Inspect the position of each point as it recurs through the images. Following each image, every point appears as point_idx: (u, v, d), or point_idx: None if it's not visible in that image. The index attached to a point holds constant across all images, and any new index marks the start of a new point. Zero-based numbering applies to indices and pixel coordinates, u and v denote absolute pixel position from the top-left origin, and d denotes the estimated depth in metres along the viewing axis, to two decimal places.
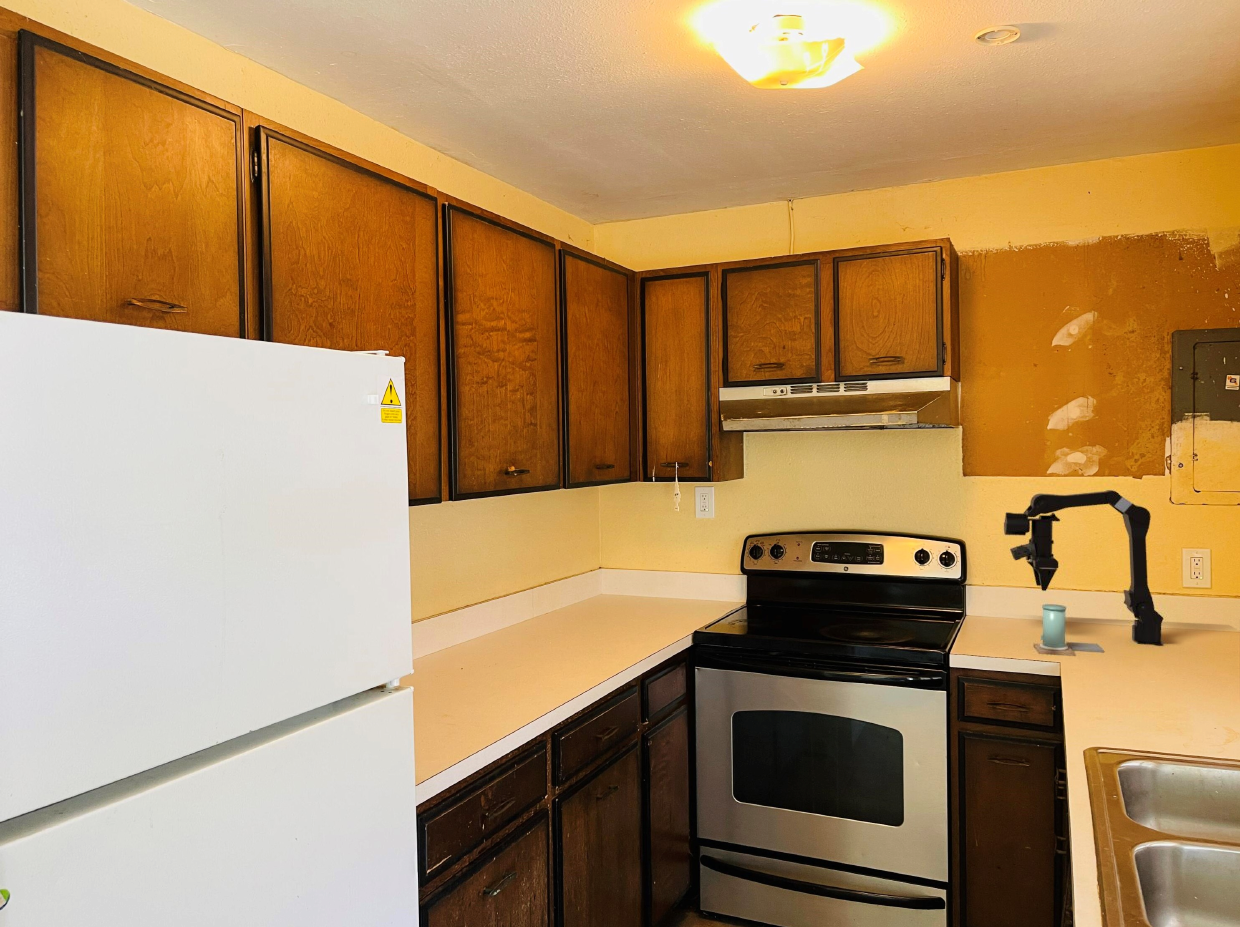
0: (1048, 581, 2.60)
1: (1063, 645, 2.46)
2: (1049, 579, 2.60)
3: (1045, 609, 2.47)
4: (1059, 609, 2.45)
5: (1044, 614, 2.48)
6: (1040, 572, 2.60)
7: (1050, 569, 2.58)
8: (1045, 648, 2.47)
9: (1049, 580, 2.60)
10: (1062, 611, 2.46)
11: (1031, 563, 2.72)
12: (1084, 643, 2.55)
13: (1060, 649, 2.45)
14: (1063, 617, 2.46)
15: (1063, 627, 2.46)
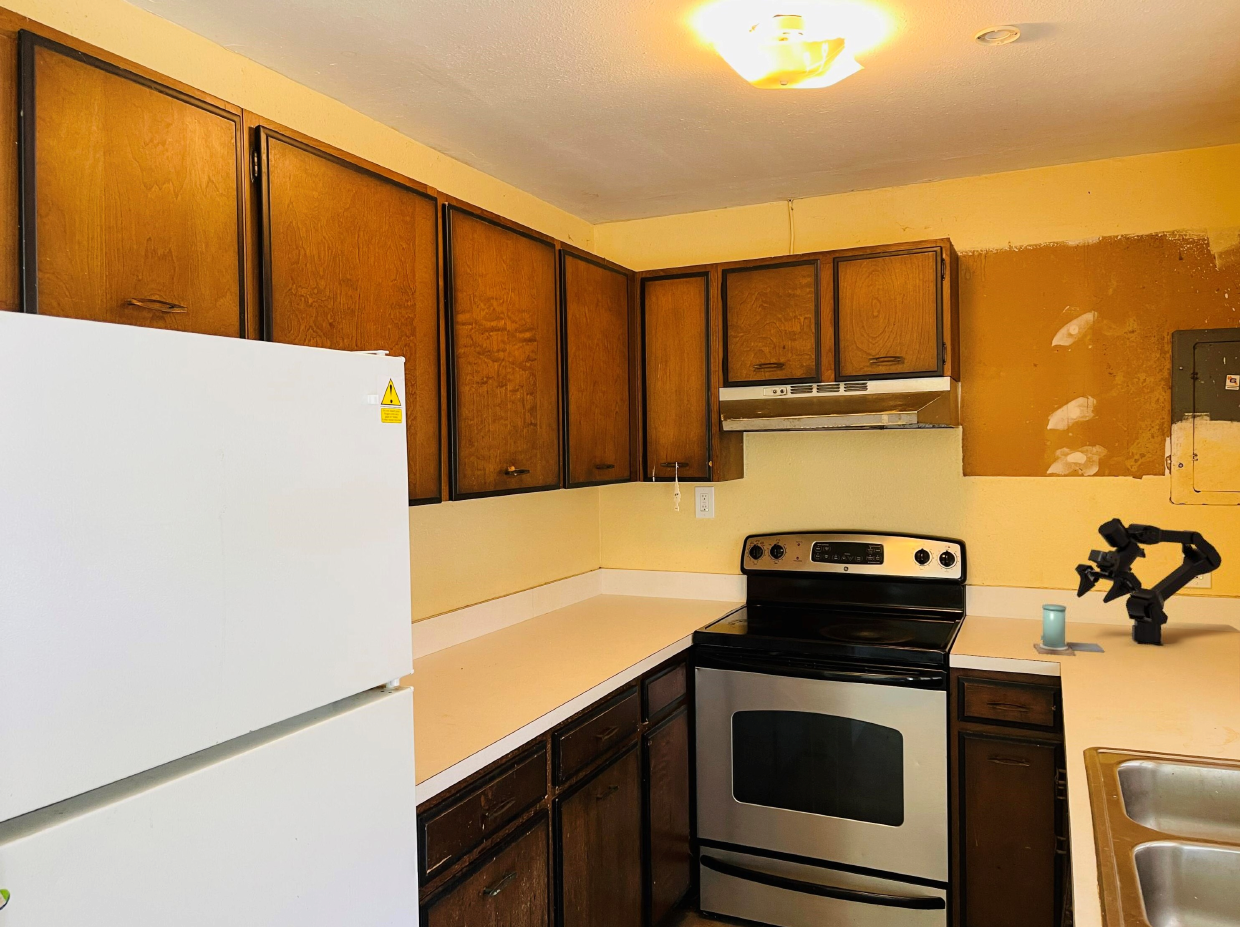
0: (1115, 597, 2.48)
1: (1063, 645, 2.46)
2: (1117, 596, 2.48)
3: (1045, 609, 2.47)
4: (1059, 609, 2.45)
5: (1044, 614, 2.48)
6: (1118, 585, 2.47)
7: (1130, 588, 2.46)
8: (1045, 648, 2.47)
9: (1116, 597, 2.48)
10: (1062, 611, 2.46)
11: (1085, 574, 2.58)
12: (1084, 643, 2.55)
13: (1060, 649, 2.45)
14: (1063, 617, 2.46)
15: (1063, 627, 2.46)
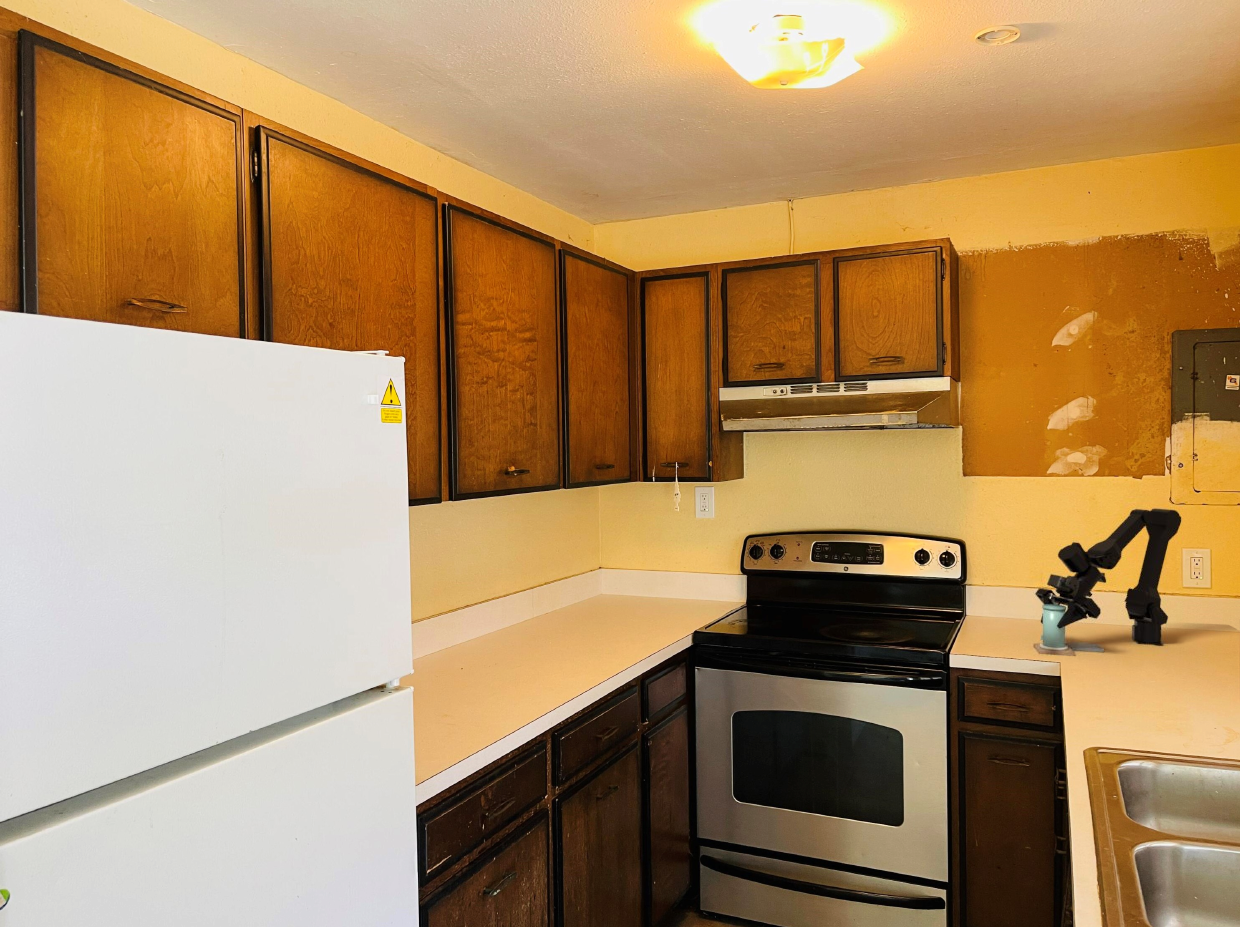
0: (1069, 622, 2.45)
1: (1063, 645, 2.46)
2: (1071, 621, 2.45)
3: (1045, 609, 2.47)
4: (1059, 609, 2.45)
5: (1044, 614, 2.48)
6: (1072, 610, 2.44)
7: (1084, 613, 2.43)
8: (1045, 648, 2.47)
9: (1070, 622, 2.45)
10: (1062, 611, 2.46)
11: (1050, 600, 2.52)
12: (1084, 643, 2.55)
13: (1060, 649, 2.45)
14: None
15: (1063, 627, 2.46)
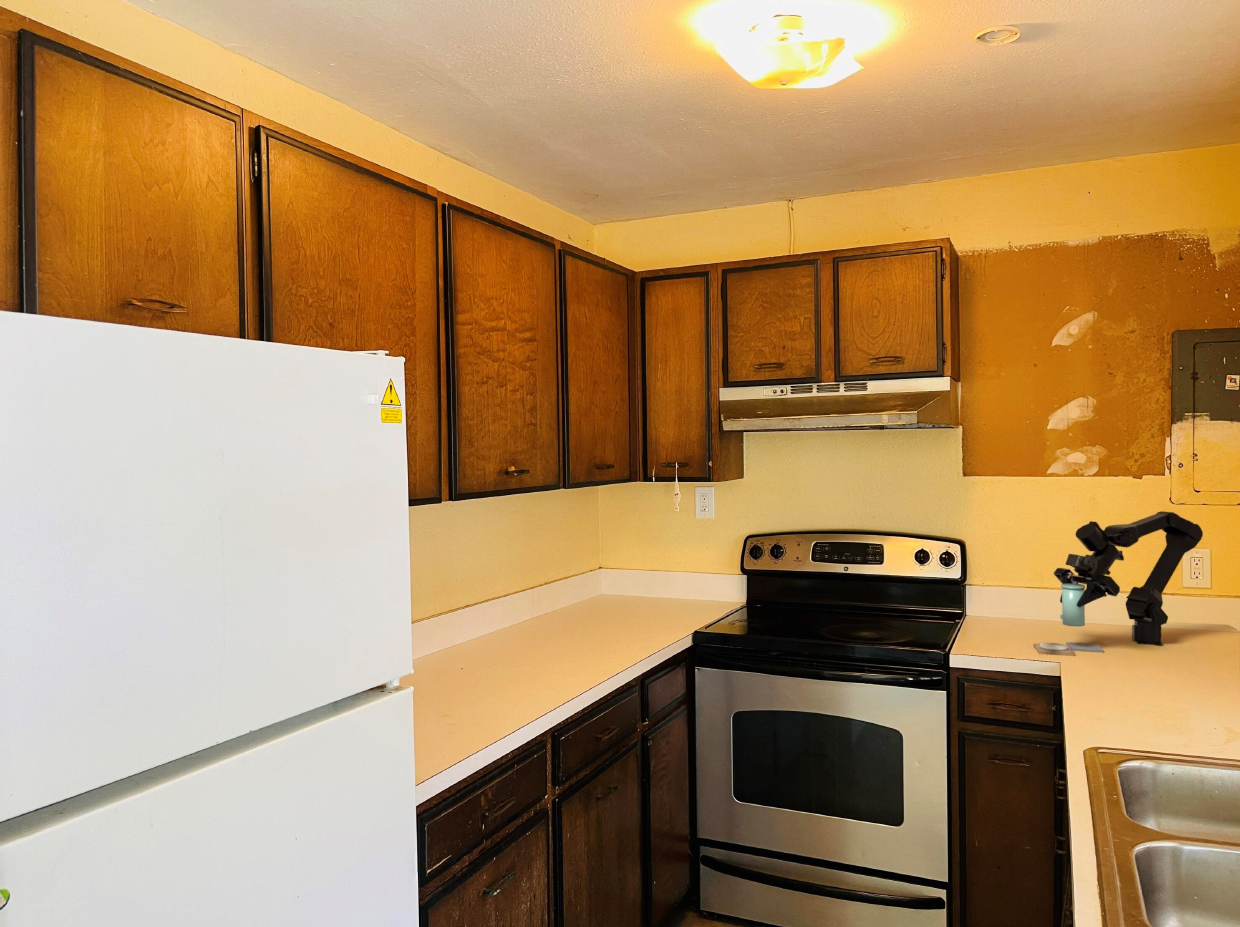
0: (1088, 601, 2.47)
1: (1083, 623, 2.48)
2: (1091, 600, 2.47)
3: (1064, 588, 2.49)
4: (1078, 588, 2.47)
5: (1063, 593, 2.50)
6: (1091, 589, 2.46)
7: (1104, 592, 2.45)
8: (1045, 648, 2.47)
9: (1090, 601, 2.47)
10: (1081, 590, 2.47)
11: (1068, 580, 2.54)
12: (1084, 643, 2.55)
13: (1060, 649, 2.45)
14: None
15: (1082, 606, 2.48)
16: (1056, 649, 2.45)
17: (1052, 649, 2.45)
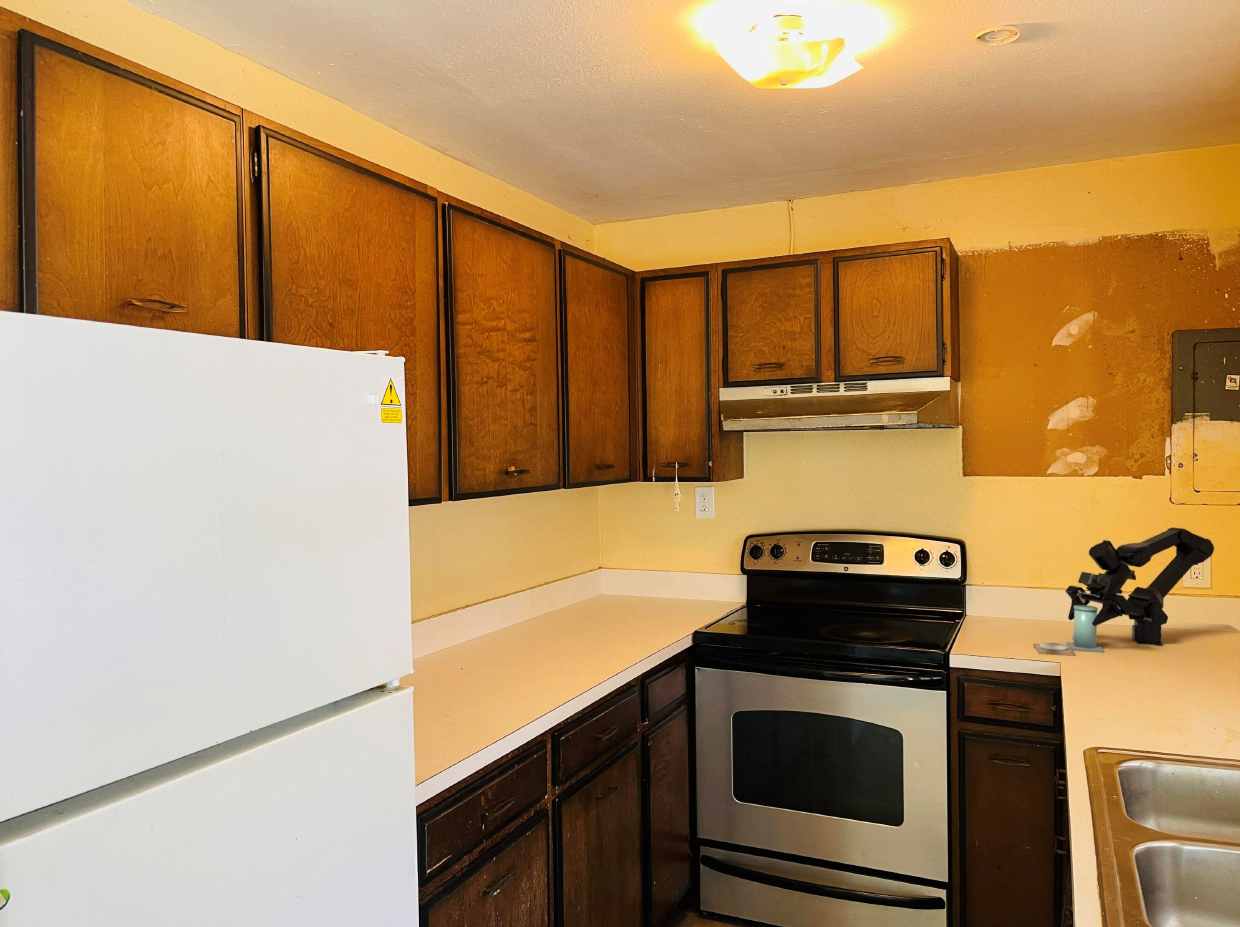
0: (1104, 620, 2.47)
1: (1094, 645, 2.49)
2: (1106, 619, 2.47)
3: (1077, 610, 2.51)
4: (1091, 610, 2.48)
5: (1075, 614, 2.51)
6: (1107, 608, 2.46)
7: (1119, 611, 2.45)
8: (1045, 648, 2.47)
9: (1105, 620, 2.47)
10: (1094, 612, 2.49)
11: (1077, 597, 2.56)
12: None
13: (1060, 649, 2.45)
14: None
15: (1095, 628, 2.49)
16: (1056, 649, 2.45)
17: (1052, 649, 2.45)
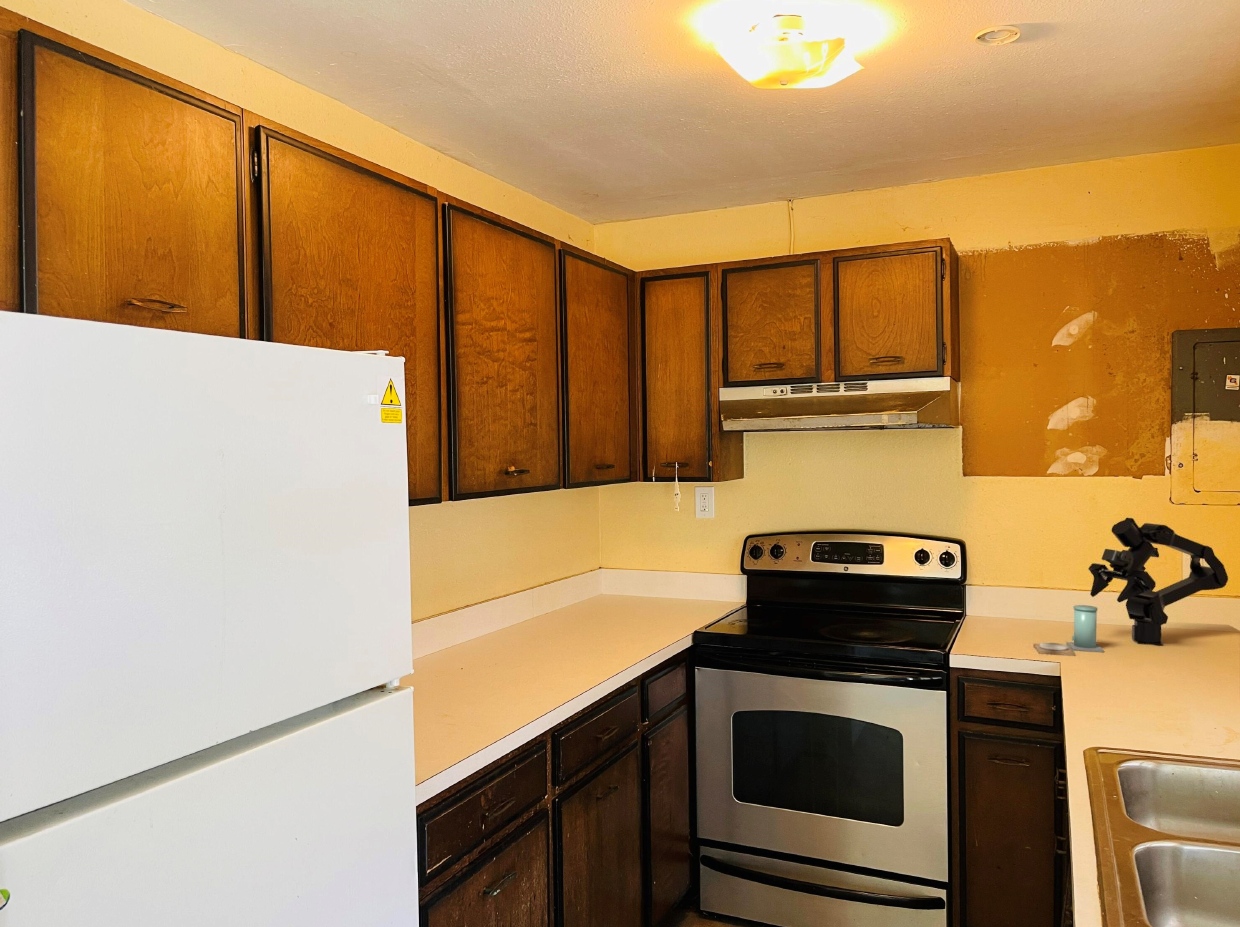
0: (1129, 596, 2.49)
1: (1094, 645, 2.49)
2: (1131, 595, 2.49)
3: (1076, 610, 2.51)
4: (1091, 610, 2.48)
5: (1075, 614, 2.51)
6: (1132, 584, 2.48)
7: (1144, 587, 2.48)
8: (1045, 648, 2.47)
9: (1130, 596, 2.49)
10: (1094, 612, 2.49)
11: (1099, 574, 2.59)
12: None
13: (1060, 649, 2.45)
14: (1094, 618, 2.49)
15: (1094, 628, 2.49)
16: (1056, 649, 2.45)
17: (1052, 649, 2.45)
